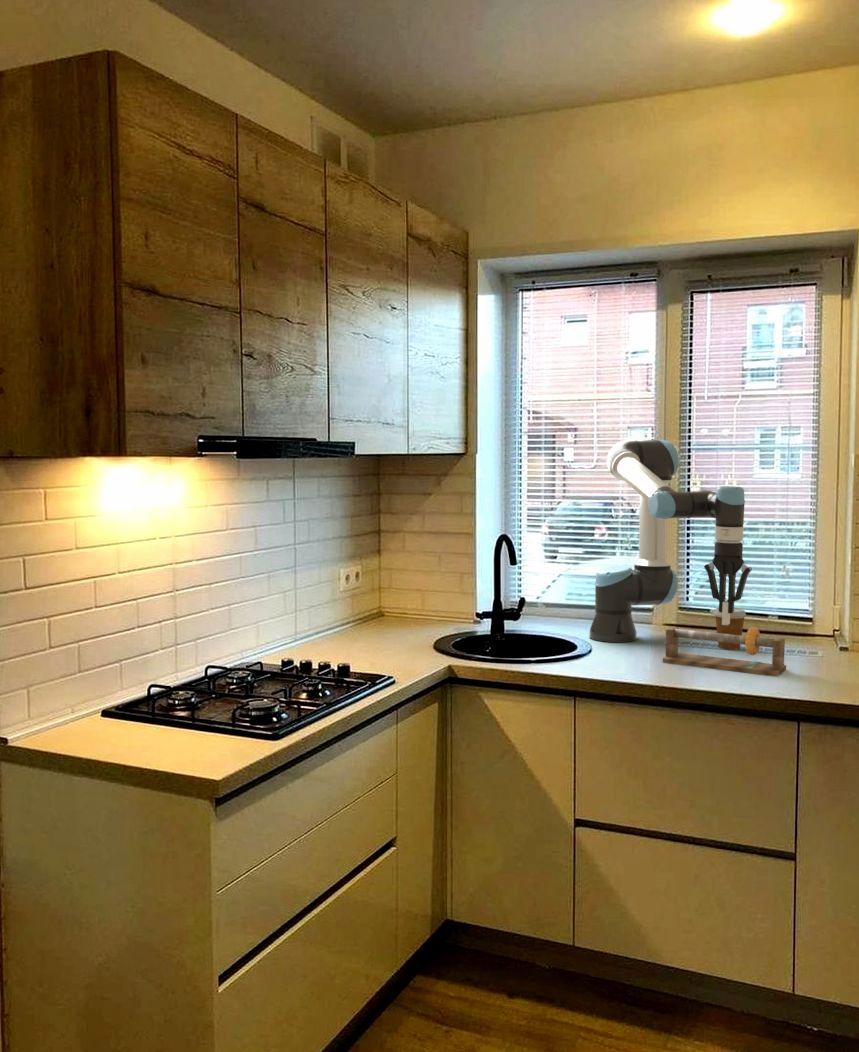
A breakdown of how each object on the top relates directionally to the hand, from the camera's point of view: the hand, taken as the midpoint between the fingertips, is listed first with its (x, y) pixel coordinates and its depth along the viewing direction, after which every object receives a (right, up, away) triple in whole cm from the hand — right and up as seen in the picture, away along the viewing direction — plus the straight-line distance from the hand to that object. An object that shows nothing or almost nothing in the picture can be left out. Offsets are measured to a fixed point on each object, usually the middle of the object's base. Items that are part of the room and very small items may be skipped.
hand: (725, 624), depth 266 cm
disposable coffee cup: (+9, -10, +26) cm, 30 cm away
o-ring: (+6, -8, -4) cm, 11 cm away
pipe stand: (0, -12, +1) cm, 12 cm away
